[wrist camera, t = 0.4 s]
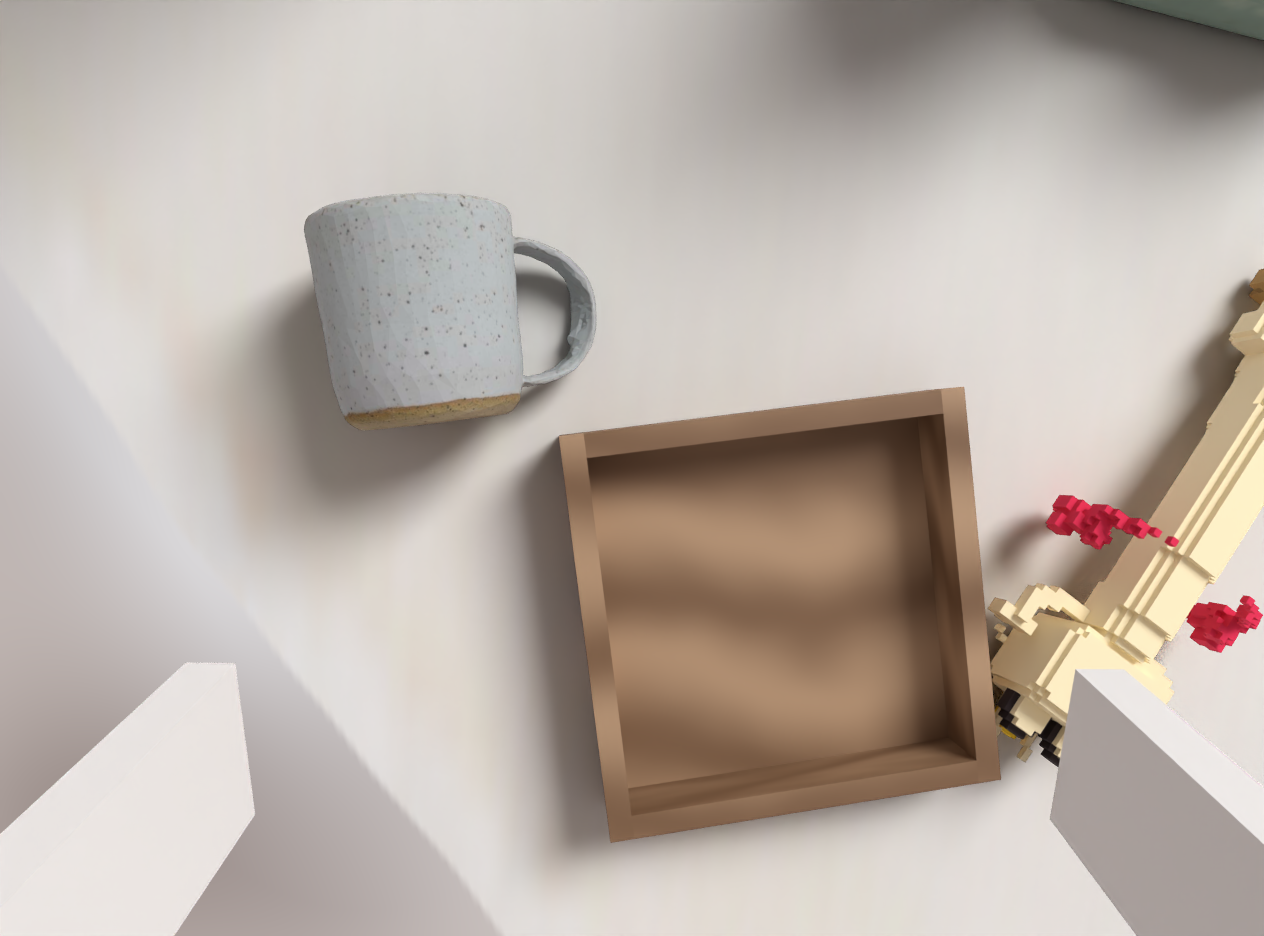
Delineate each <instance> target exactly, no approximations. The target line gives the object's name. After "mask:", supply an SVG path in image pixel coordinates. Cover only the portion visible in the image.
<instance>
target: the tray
mask: <svg viewBox="0 0 1264 936" xmlns="http://www.w3.org/2000/svg"><path fill="white" fill-rule="evenodd" d="M559 442H560V449H561V457H562V465H563V473H564V481H565V489H566V496H567V504H568V512H569V520H570V528H571V536H572V544H573V551H574V559H575V567H576V575H577V583H578V591H579V599H580V606H581V614H582V622H583V630H584V638H585V646H586V653H587V661H588V669H589V677H590V685H591V693H592V701H593V708H594V716H595V724H596V732H597V740H598V748H599V756H600V763H601V771H602V779H603V787H604V795H605V803H606V810H607V818H608V826H609V834H610V842H611V843H612V842H619V841H625V840H631V839H637V838H643V837H649V836H656V835H662V834H668V833H674V832H680V831H686V830H692V829H699V828H705V827H711V826H717V825H723V824H729V823H736V822H742V821H748V820H754V819H760V818H766V817H773V816H779V815H785V814H791V813H797V812H803V811H810V810H816V809H822V808H828V807H834V806H840V805H847V804H853V803H859V802H865V801H871V800H877V799H884V798H890V797H896V796H902V795H908V794H914V793H921V792H927V791H933V790H939V789H945V788H951V787H958V786H964V785H970V784H976V783H982V782H988V781H995V780H1001V775H1000V764H999V753H998V743H997V732H996V721H995V711H994V700H993V689H992V679H991V668H990V657H989V647H988V636H987V625H986V615H985V604H984V593H983V583H982V572H981V561H980V551H979V540H978V530H977V519H976V508H975V498H974V487H973V476H972V466H971V455H970V444H969V434H968V423H967V412H966V402H965V391H964V387H956V388H946V389H935V390H925V391H917V392H909V393H901V394H892V395H884V396H876V397H868V398H860V399H852V400H844V401H835V402H827V403H819V404H811V405H803V406H795V407H787V408H778V409H770V410H762V411H754V412H746V413H738V414H730V415H721V416H713V417H705V418H697V419H689V420H681V421H672V422H664V423H656V424H648V425H640V426H632V427H624V428H615V429H607V430H599V431H591V432H583V433H575V434H567V435H559Z"/></svg>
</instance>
